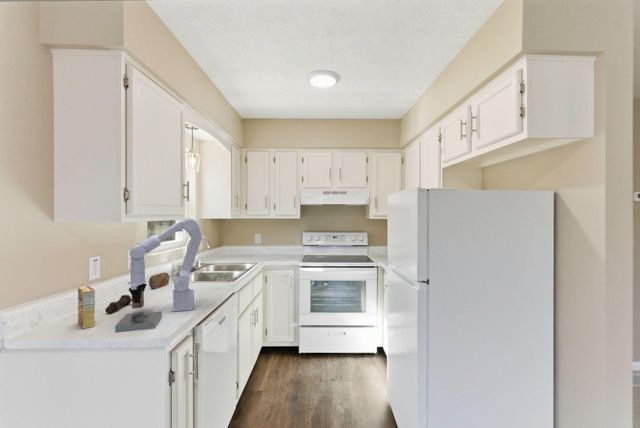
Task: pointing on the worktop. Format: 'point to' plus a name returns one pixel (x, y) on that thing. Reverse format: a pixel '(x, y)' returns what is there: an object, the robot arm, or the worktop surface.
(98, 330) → the worktop surface
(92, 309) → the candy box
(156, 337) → the worktop surface
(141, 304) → the block
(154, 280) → the brown oval slab
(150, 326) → the socket plate
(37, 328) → the worktop surface
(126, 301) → the dark brown dumbbell shape
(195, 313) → the worktop surface
